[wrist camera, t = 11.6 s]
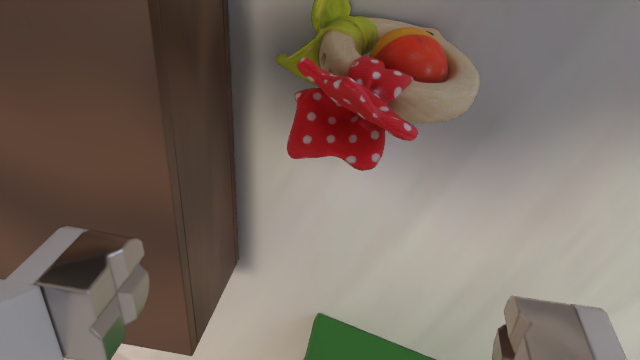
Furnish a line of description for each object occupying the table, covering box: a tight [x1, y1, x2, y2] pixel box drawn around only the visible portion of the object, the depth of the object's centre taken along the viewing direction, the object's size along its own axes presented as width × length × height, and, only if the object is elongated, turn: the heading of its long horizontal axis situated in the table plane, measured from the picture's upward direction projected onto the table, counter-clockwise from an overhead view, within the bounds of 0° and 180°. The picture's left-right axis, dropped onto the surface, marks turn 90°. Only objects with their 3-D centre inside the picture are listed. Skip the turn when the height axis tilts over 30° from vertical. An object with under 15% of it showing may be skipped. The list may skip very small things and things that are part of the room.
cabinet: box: [0, 0, 239, 356], centre depth 27 cm, size 20×15×9 cm
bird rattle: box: [276, 0, 480, 171], centre depth 22 cm, size 6×11×9 cm
